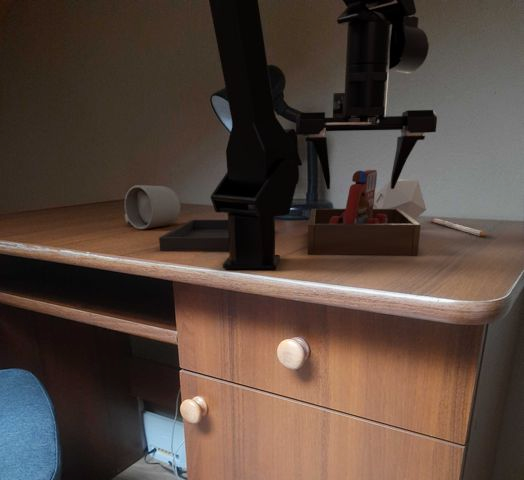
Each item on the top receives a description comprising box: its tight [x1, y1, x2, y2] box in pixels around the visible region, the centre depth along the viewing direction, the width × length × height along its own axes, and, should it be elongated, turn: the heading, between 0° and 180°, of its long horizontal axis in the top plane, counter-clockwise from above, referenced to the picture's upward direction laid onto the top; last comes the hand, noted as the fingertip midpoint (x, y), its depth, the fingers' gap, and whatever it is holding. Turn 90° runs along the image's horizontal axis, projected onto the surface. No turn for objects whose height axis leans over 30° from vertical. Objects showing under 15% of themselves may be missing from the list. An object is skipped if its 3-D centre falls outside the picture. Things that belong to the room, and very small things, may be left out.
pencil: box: [430, 217, 488, 237], centre depth 86 cm, size 1×19×1 cm, turn 8°
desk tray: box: [158, 219, 229, 252], centre depth 79 cm, size 19×13×2 cm
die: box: [373, 179, 427, 221], centre depth 88 cm, size 8×9×10 cm
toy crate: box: [307, 208, 422, 256], centre depth 74 cm, size 19×15×4 cm
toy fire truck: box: [329, 169, 388, 224], centre depth 73 cm, size 7×12×10 cm, turn 155°
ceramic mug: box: [124, 184, 182, 231], centre depth 93 cm, size 11×8×8 cm
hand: (360, 188), depth 72 cm, fingers open, 9 cm apart
